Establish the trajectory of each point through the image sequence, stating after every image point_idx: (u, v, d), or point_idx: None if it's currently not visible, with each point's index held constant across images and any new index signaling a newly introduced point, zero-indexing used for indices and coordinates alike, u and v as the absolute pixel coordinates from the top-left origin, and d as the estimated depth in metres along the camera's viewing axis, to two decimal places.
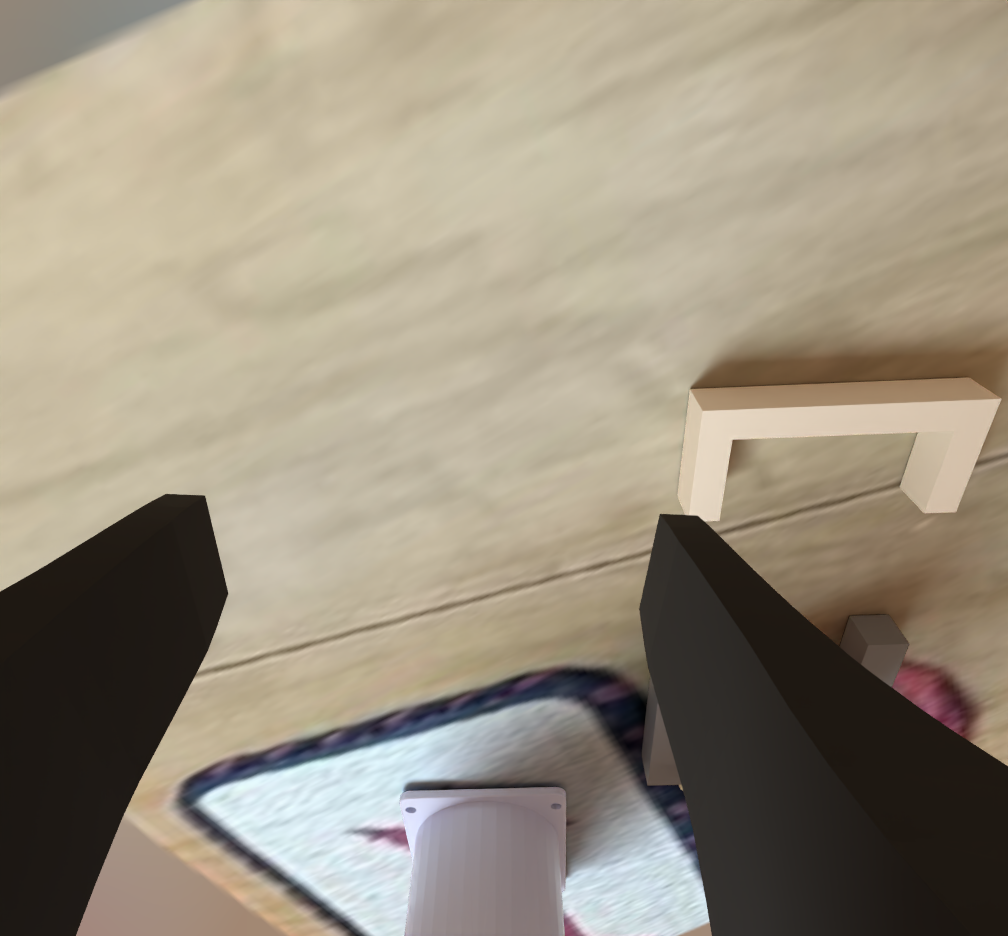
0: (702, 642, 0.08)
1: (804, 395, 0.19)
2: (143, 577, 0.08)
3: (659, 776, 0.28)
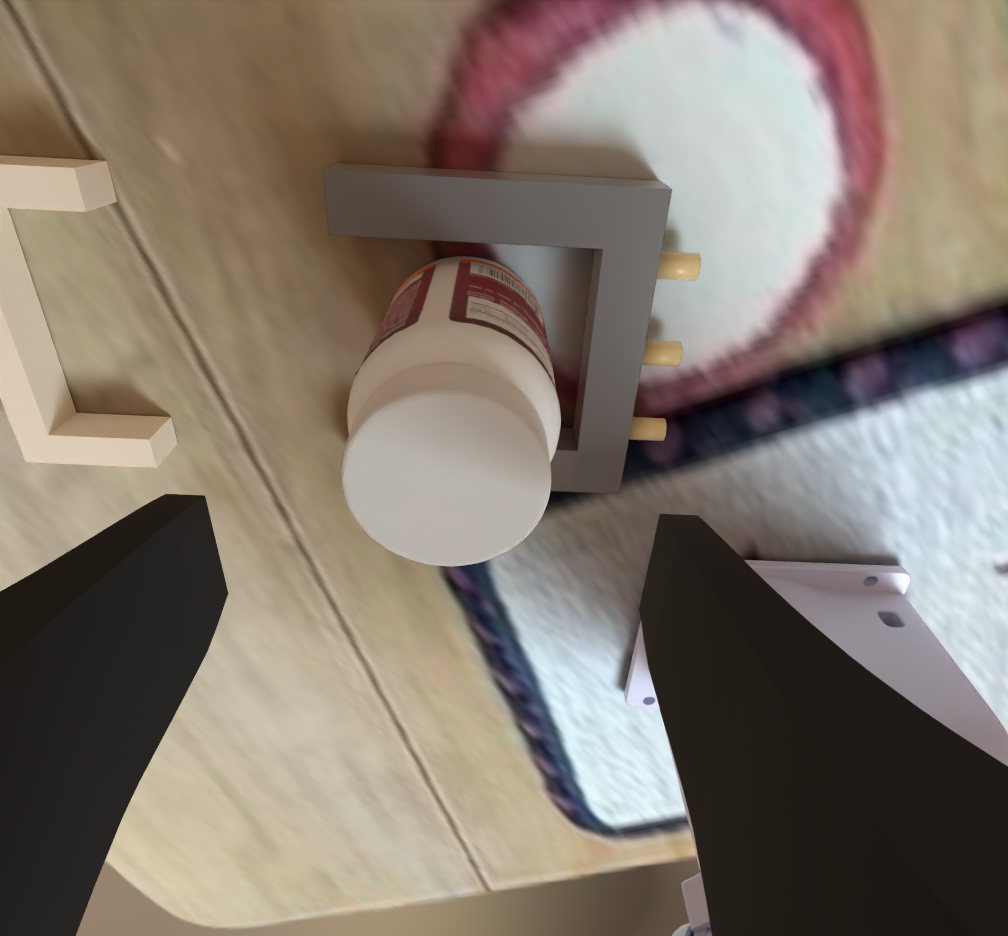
0: (702, 642, 0.08)
1: None
2: (142, 577, 0.08)
3: (600, 480, 0.20)
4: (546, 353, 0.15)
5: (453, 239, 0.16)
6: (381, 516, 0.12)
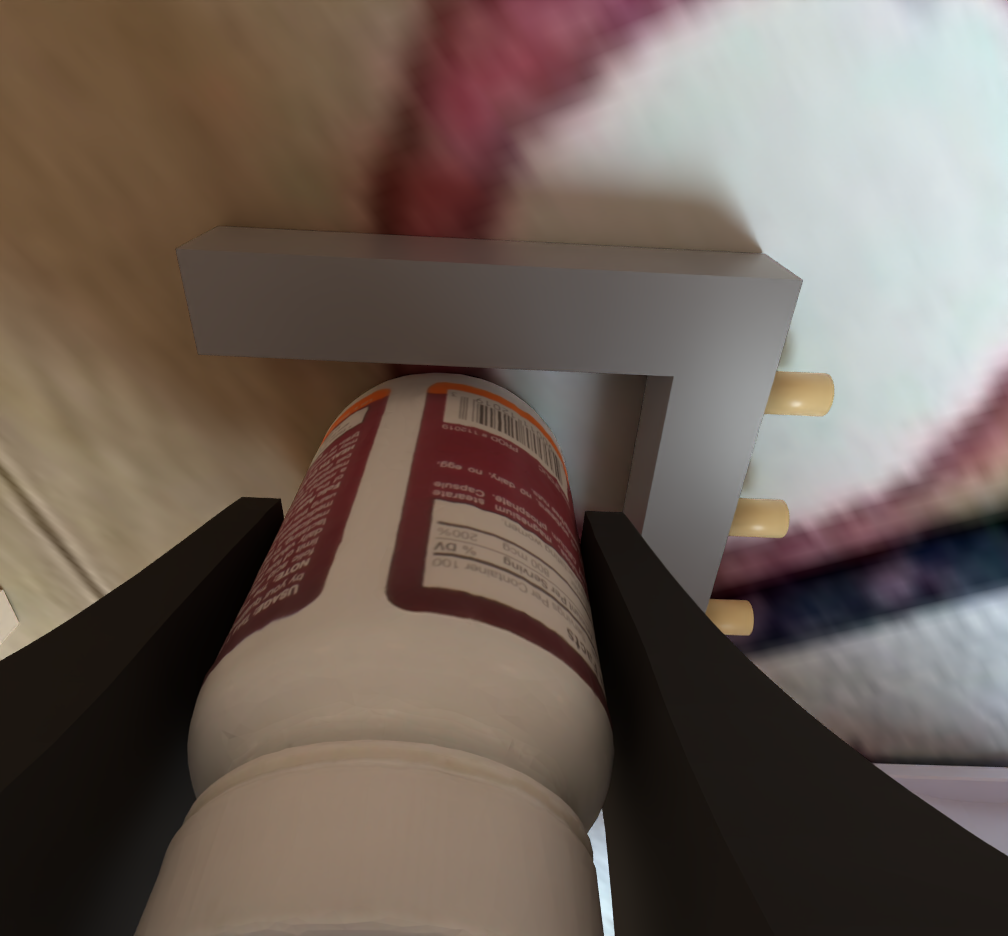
0: (611, 638, 0.08)
1: None
2: (234, 580, 0.08)
3: None
4: (581, 590, 0.08)
5: (415, 361, 0.09)
6: None
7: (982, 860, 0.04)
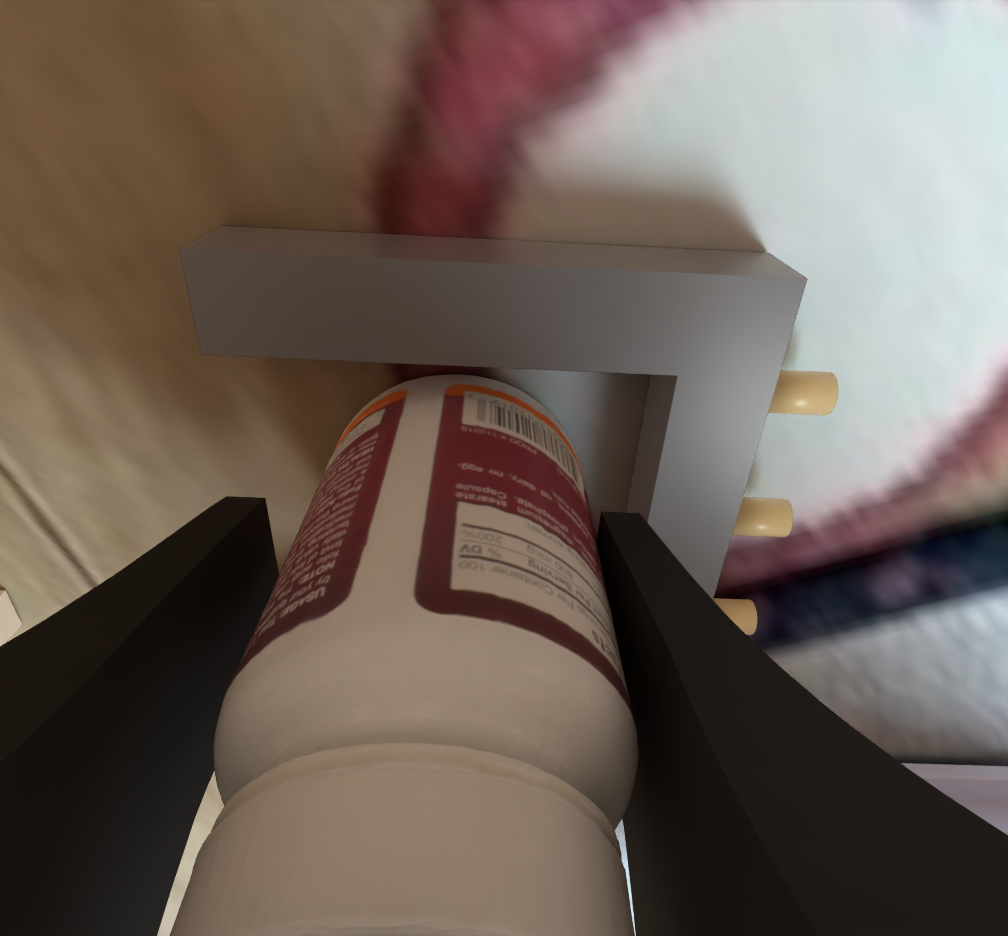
0: (630, 639, 0.08)
1: None
2: (215, 580, 0.08)
3: None
4: (602, 592, 0.08)
5: (418, 361, 0.09)
6: None
7: None
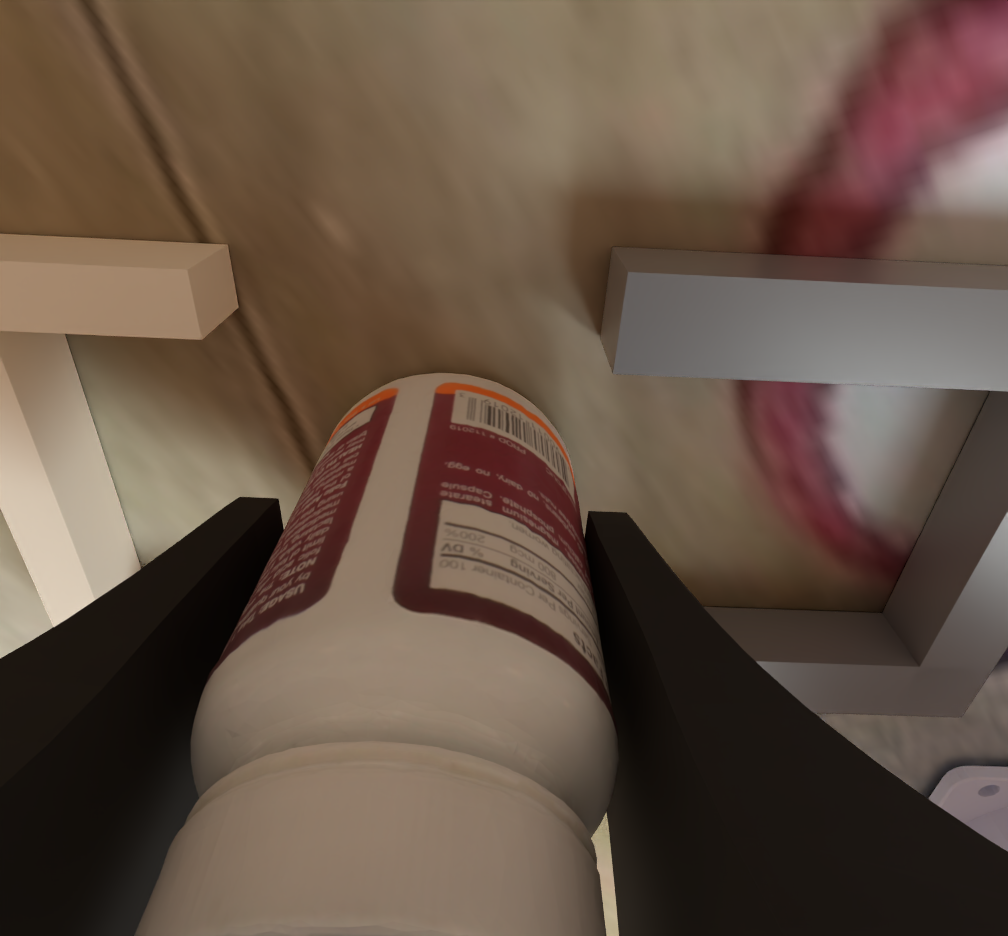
0: (615, 639, 0.08)
1: None
2: (230, 580, 0.08)
3: (940, 702, 0.13)
4: (587, 594, 0.08)
5: (823, 380, 0.10)
6: None
7: (990, 860, 0.04)
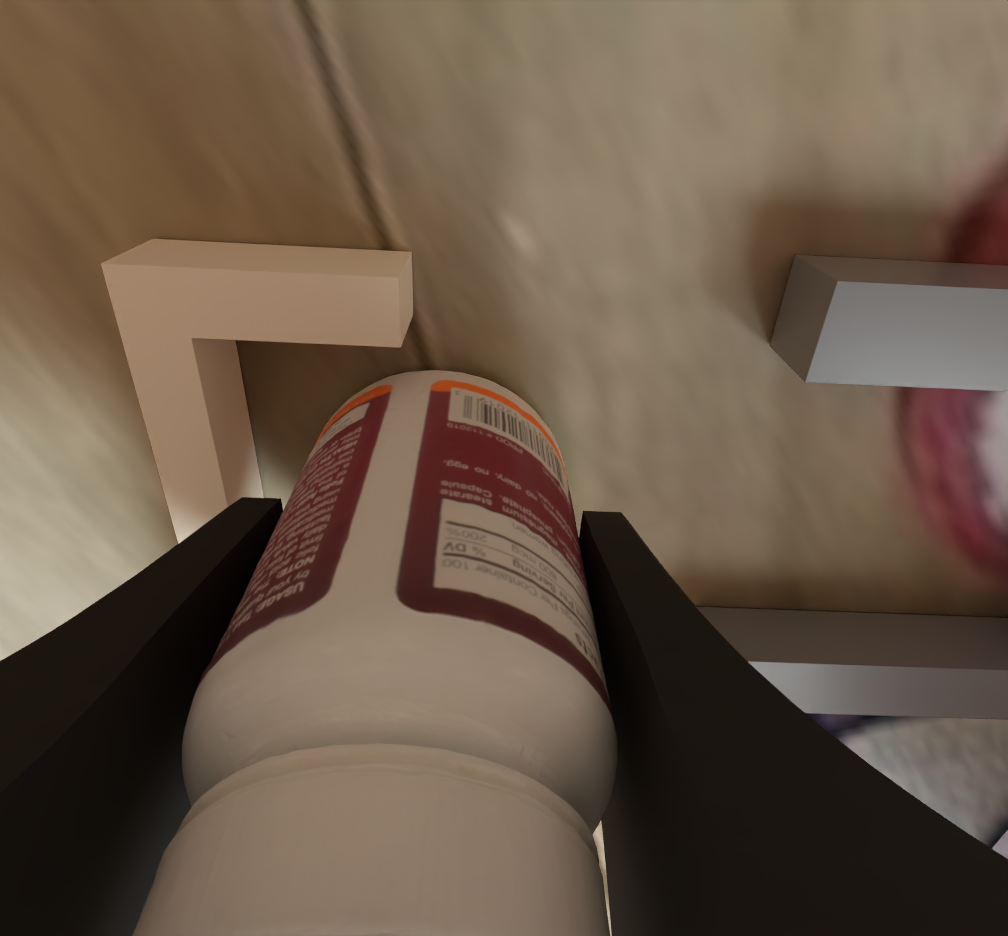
0: (608, 638, 0.08)
1: None
2: (233, 580, 0.08)
3: None
4: (585, 594, 0.08)
5: None
6: None
7: (977, 860, 0.04)
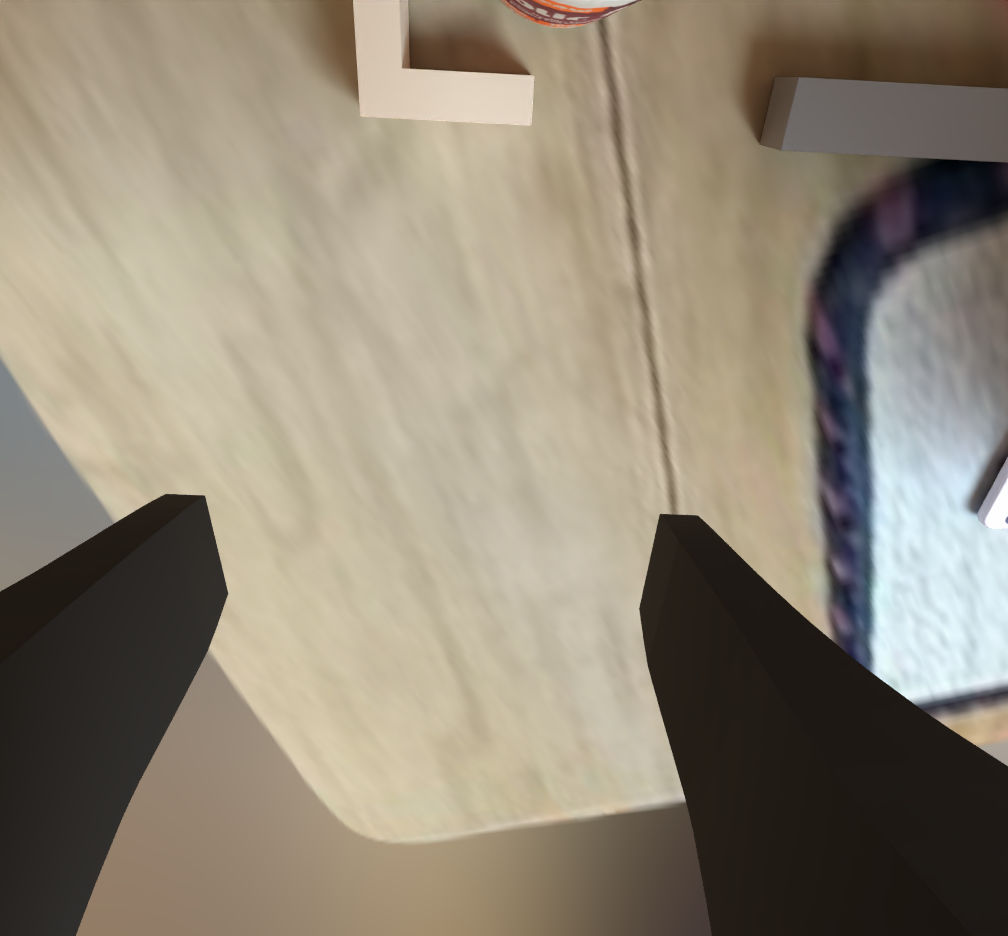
0: (702, 642, 0.08)
1: None
2: (143, 577, 0.08)
3: None
4: None
5: None
6: None
7: None
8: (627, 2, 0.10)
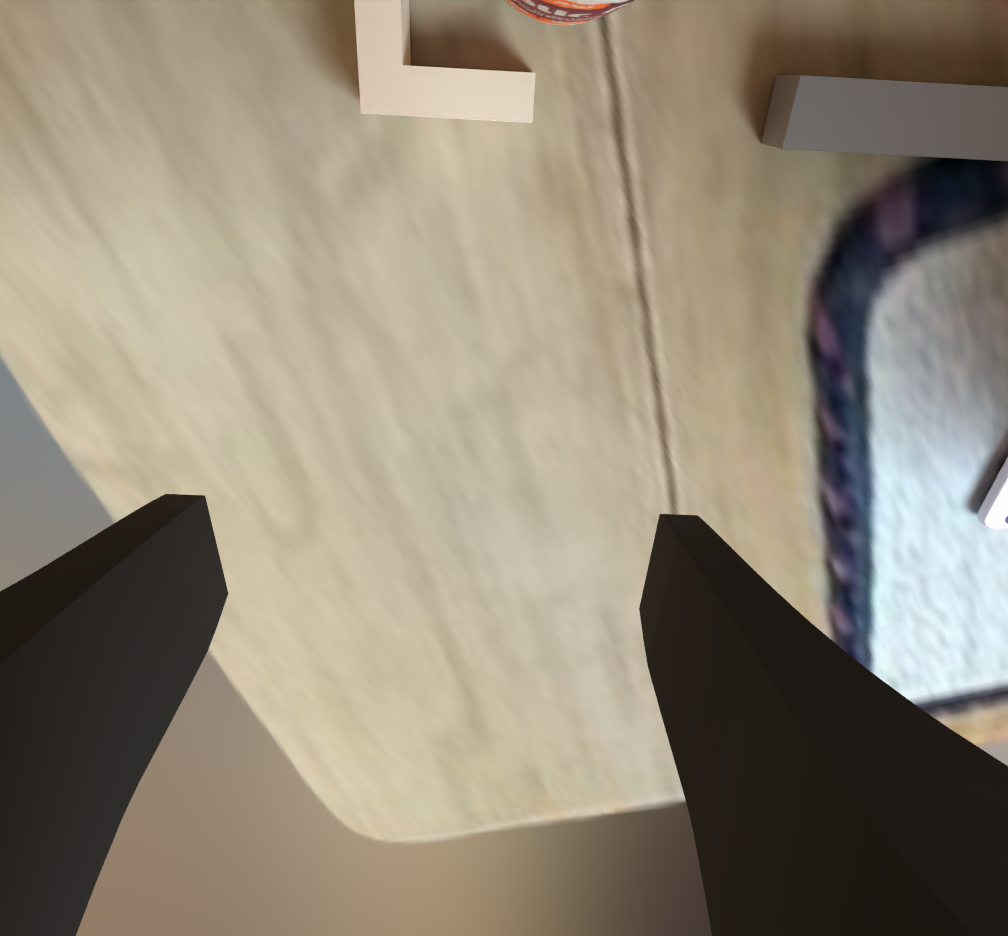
0: (702, 642, 0.08)
1: None
2: (143, 578, 0.08)
3: None
4: None
5: None
6: None
7: None
8: None
